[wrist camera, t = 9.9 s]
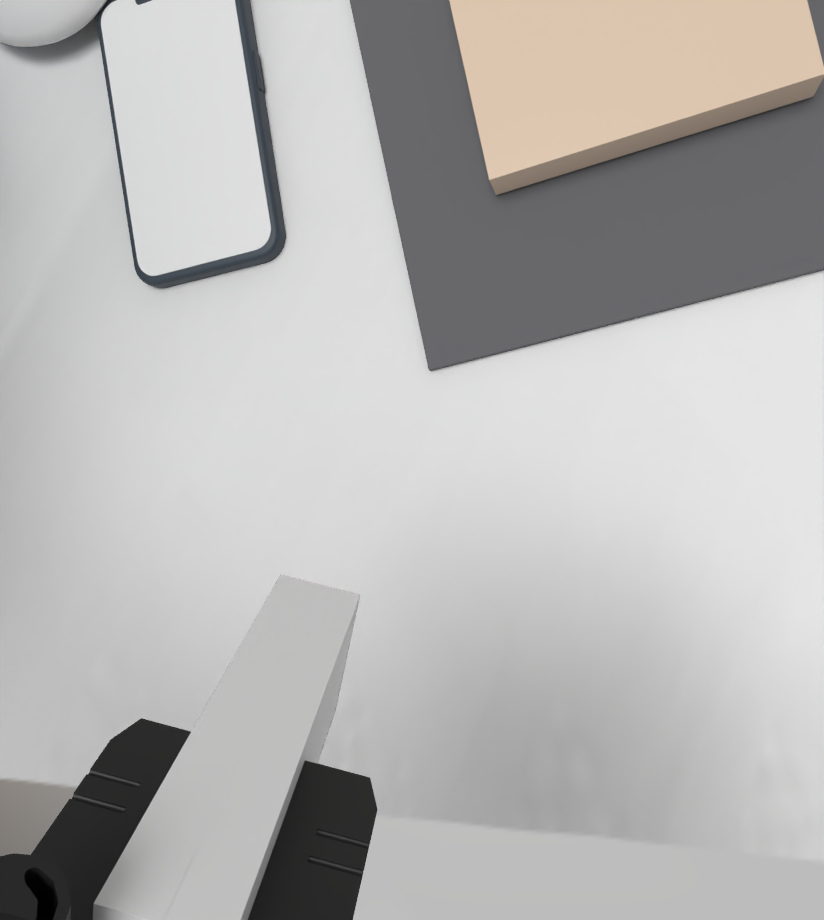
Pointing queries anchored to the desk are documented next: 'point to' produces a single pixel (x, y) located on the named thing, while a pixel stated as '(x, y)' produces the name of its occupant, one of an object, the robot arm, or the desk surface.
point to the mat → (577, 205)
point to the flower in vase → (44, 20)
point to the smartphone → (191, 137)
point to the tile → (623, 75)
